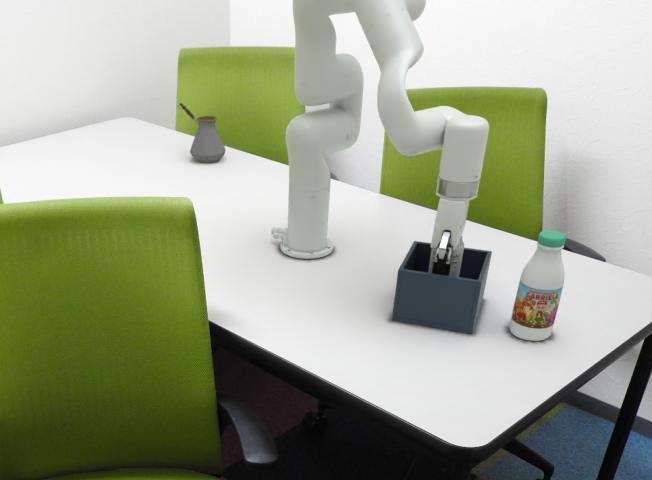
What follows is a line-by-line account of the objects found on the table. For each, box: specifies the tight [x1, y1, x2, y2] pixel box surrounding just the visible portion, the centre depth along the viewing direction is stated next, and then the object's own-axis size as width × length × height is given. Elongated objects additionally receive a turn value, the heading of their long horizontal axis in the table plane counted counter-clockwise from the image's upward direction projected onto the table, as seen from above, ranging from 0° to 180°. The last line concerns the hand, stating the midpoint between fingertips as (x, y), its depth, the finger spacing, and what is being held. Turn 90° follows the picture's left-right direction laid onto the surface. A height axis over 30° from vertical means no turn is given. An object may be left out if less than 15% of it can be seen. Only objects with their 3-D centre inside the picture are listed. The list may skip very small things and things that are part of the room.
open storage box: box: [391, 240, 493, 335], centre depth 152 cm, size 16×16×11 cm
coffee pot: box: [177, 102, 226, 164], centre depth 244 cm, size 21×12×15 cm, turn 35°
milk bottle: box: [509, 229, 567, 342], centre depth 141 cm, size 8×8×20 cm
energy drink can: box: [428, 235, 465, 277], centre depth 150 cm, size 6×6×15 cm
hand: (443, 271), depth 150 cm, fingers open, 9 cm apart
